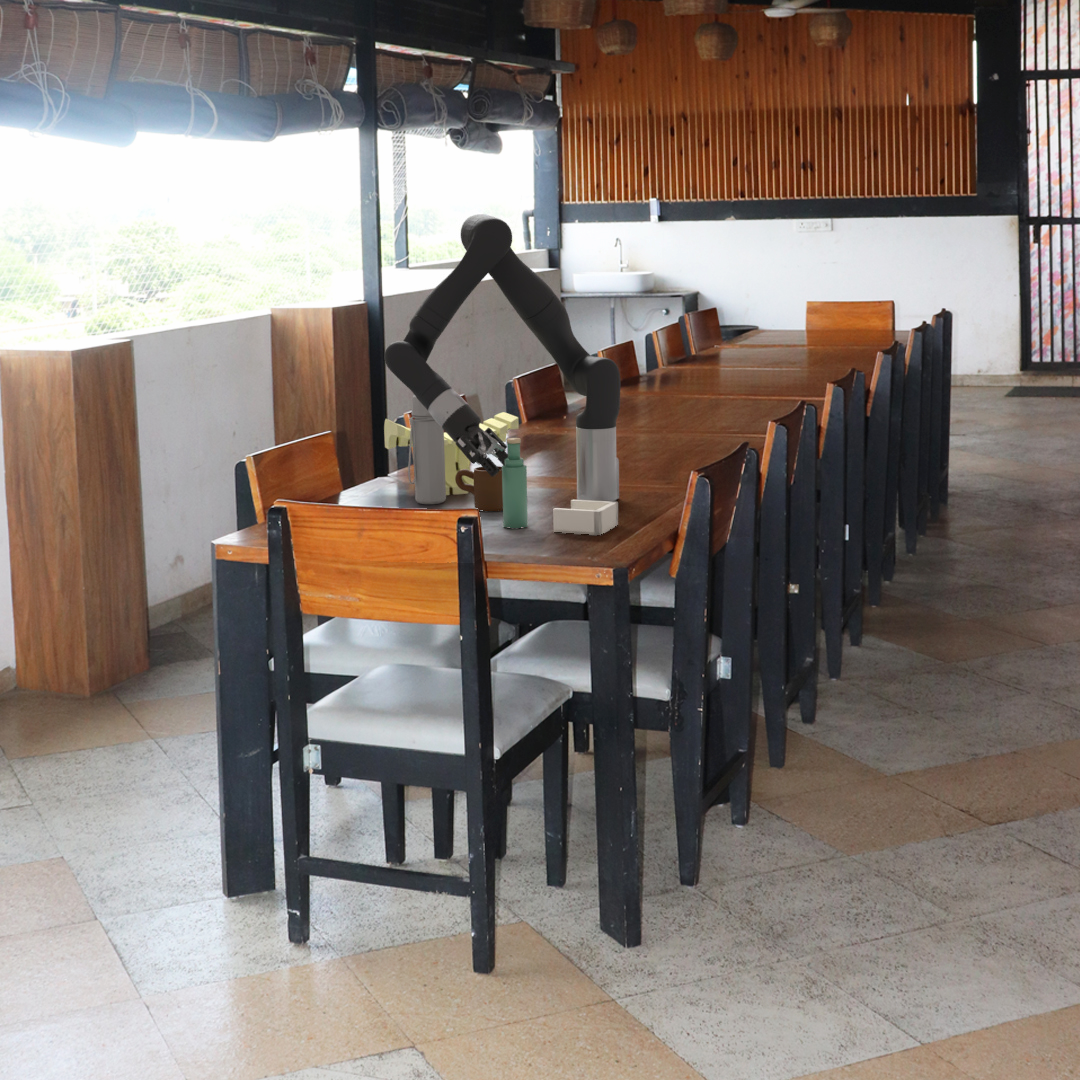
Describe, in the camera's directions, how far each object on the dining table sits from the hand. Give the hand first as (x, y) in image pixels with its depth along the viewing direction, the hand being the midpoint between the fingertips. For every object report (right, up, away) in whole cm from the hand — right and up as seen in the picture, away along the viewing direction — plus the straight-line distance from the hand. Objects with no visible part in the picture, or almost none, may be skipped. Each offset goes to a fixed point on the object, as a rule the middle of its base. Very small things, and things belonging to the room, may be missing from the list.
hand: (504, 470), depth 287 cm
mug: (-6, -8, +22) cm, 24 cm away
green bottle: (+2, -12, +2) cm, 12 cm away
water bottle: (-19, -6, +31) cm, 37 cm away
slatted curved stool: (-14, -2, +49) cm, 51 cm away
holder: (+17, -12, -2) cm, 21 cm away
